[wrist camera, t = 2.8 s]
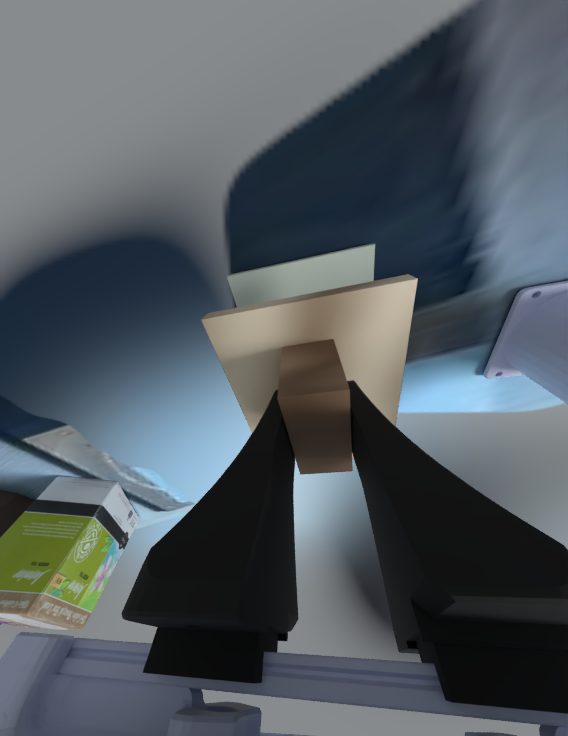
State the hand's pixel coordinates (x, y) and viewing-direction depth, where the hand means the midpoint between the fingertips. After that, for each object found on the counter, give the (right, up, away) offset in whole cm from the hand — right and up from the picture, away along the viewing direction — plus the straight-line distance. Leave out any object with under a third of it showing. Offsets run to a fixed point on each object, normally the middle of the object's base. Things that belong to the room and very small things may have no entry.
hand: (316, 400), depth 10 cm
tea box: (-34, -22, +28) cm, 50 cm away
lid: (0, +1, +2) cm, 2 cm away
